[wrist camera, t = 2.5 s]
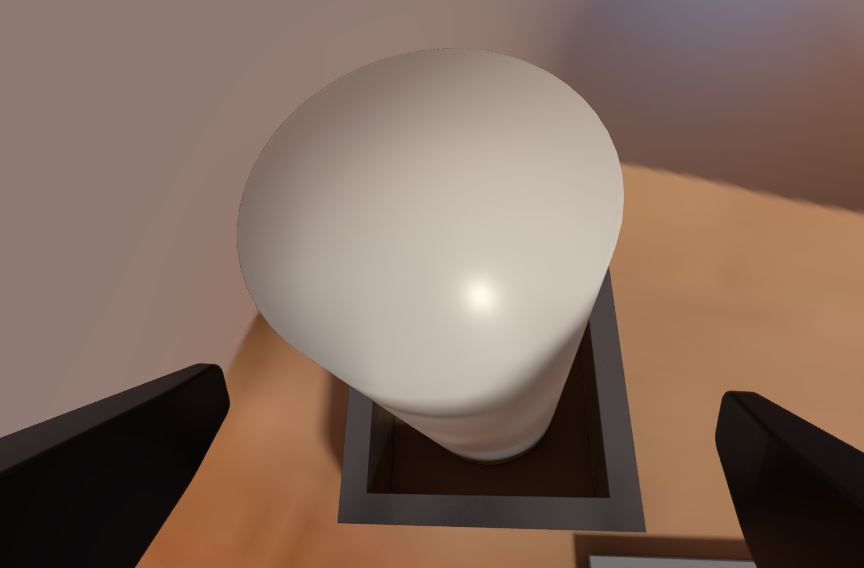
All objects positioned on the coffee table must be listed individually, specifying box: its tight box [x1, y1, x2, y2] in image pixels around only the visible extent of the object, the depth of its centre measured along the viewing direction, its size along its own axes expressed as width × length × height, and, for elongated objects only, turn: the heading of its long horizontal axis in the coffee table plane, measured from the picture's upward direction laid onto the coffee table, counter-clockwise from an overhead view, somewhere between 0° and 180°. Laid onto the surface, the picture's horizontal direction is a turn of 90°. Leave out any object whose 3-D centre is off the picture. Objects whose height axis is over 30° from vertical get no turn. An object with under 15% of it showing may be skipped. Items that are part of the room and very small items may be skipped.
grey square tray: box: [338, 266, 646, 532], centre depth 16 cm, size 8×8×3 cm
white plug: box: [237, 48, 624, 465], centre depth 12 cm, size 5×5×13 cm
